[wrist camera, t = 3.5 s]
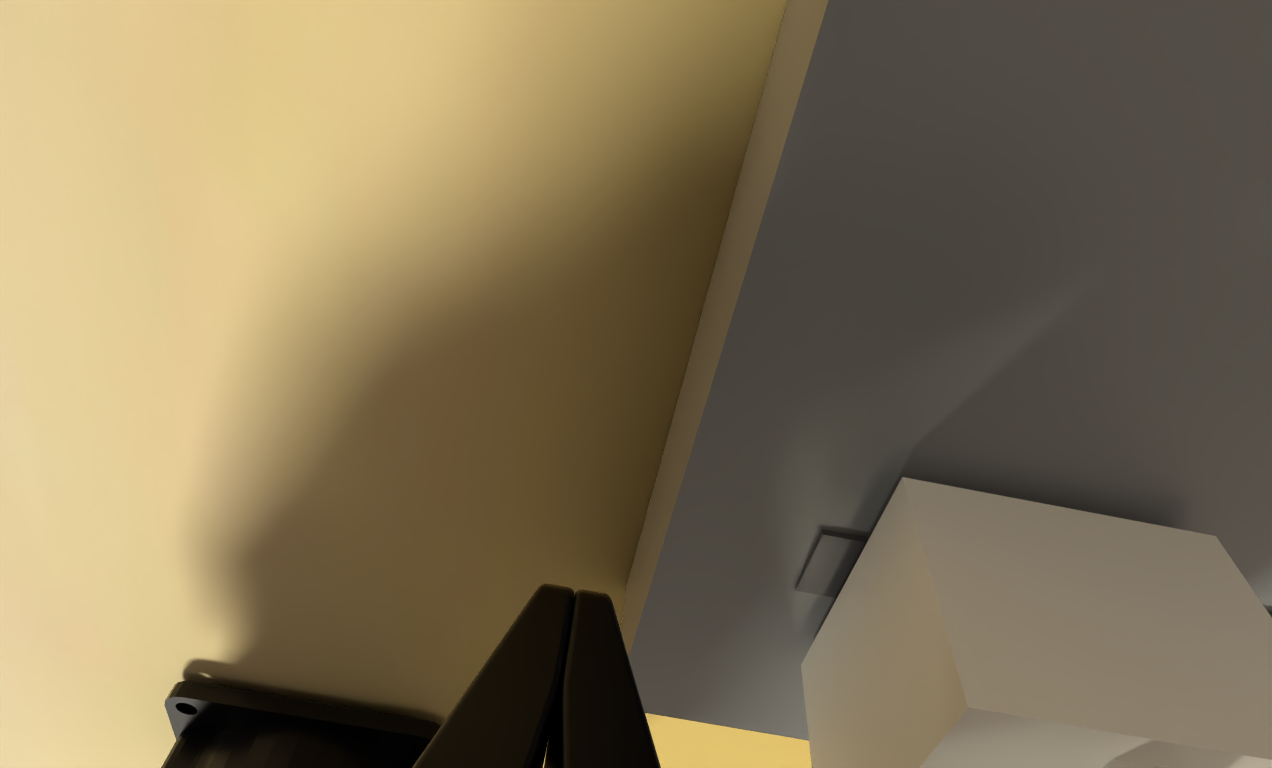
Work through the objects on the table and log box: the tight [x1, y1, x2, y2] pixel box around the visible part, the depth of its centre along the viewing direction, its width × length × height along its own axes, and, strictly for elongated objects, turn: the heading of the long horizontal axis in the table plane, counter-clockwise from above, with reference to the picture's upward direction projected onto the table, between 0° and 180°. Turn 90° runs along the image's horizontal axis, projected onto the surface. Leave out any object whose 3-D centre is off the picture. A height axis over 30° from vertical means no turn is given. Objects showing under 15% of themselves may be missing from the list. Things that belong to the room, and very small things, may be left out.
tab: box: [801, 477, 1272, 768], centre depth 9 cm, size 4×4×4 cm
